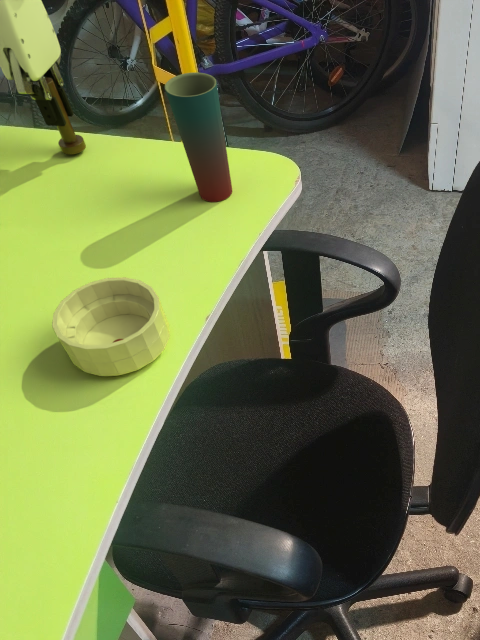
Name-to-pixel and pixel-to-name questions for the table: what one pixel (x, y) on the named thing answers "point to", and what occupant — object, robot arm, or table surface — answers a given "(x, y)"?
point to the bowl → (112, 326)
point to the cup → (201, 132)
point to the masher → (66, 127)
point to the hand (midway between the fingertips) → (60, 119)
